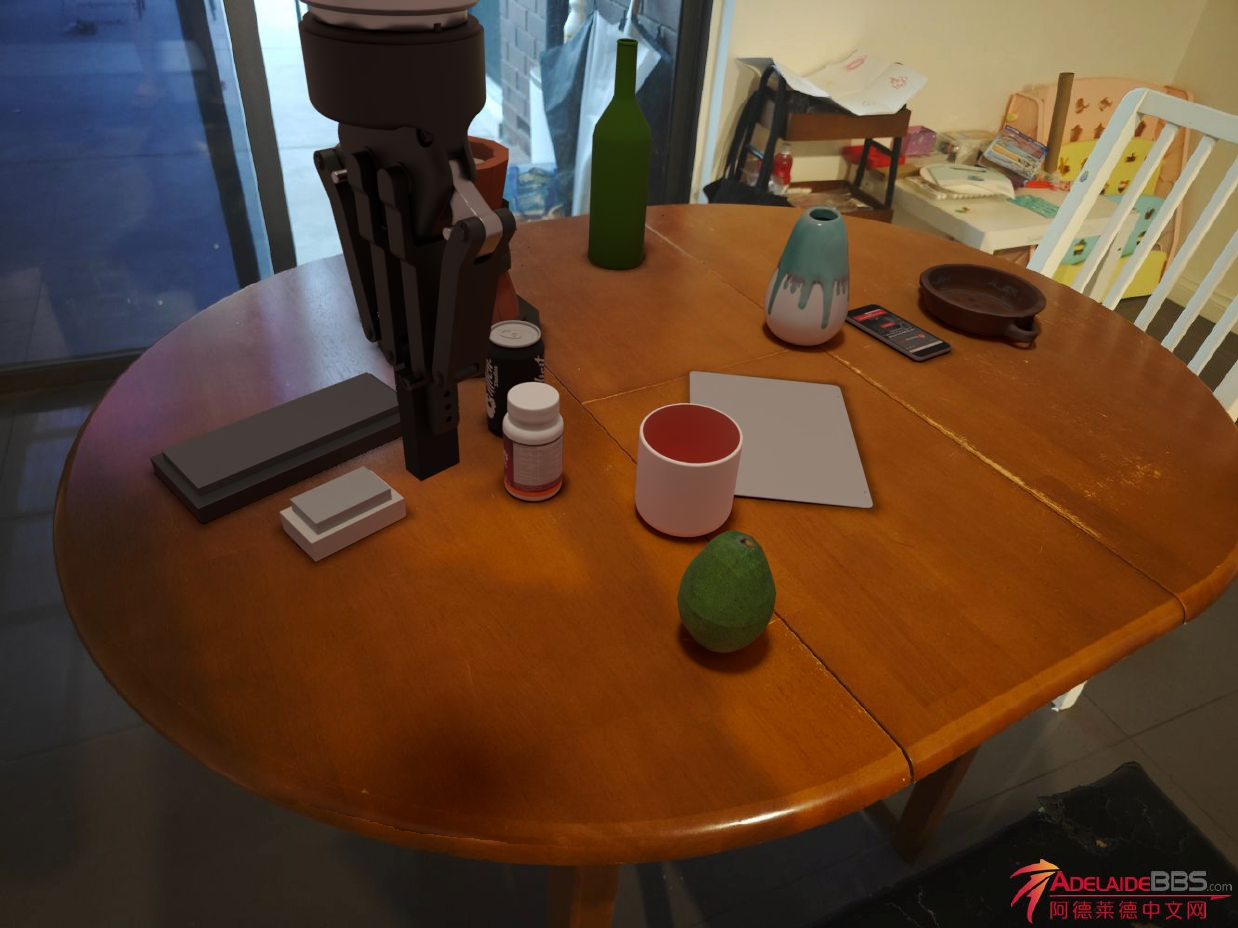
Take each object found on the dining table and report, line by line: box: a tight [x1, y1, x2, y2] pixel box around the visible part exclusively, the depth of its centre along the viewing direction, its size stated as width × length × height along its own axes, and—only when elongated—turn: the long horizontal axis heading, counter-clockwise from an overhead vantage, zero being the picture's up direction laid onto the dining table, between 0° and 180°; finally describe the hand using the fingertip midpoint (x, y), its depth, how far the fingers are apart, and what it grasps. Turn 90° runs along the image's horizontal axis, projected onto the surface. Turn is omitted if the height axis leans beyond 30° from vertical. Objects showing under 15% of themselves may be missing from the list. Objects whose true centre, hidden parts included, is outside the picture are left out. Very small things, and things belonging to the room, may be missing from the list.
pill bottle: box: [502, 382, 565, 502], centre depth 87 cm, size 6×6×11 cm
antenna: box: [689, 370, 874, 509], centre depth 101 cm, size 25×24×1 cm
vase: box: [762, 205, 851, 347], centre depth 116 cm, size 12×12×18 cm
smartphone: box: [845, 303, 953, 362], centre depth 123 cm, size 7×1×15 cm
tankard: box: [376, 134, 541, 379], centre depth 108 cm, size 22×25×25 cm
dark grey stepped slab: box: [149, 371, 402, 525], centre depth 93 cm, size 26×11×3 cm, turn 136°
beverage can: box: [484, 320, 546, 436], centre depth 96 cm, size 7×7×12 cm
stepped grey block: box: [279, 465, 407, 563], centre depth 83 cm, size 10×6×4 cm, turn 135°
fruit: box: [676, 530, 777, 654], centre depth 71 cm, size 8×8×12 cm
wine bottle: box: [587, 37, 653, 271], centre depth 129 cm, size 9×9×32 cm
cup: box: [634, 402, 743, 538], centre depth 85 cm, size 10×10×10 cm
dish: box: [918, 263, 1047, 344], centre depth 128 cm, size 17×22×5 cm
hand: (433, 465), depth 49 cm, fingers closed
